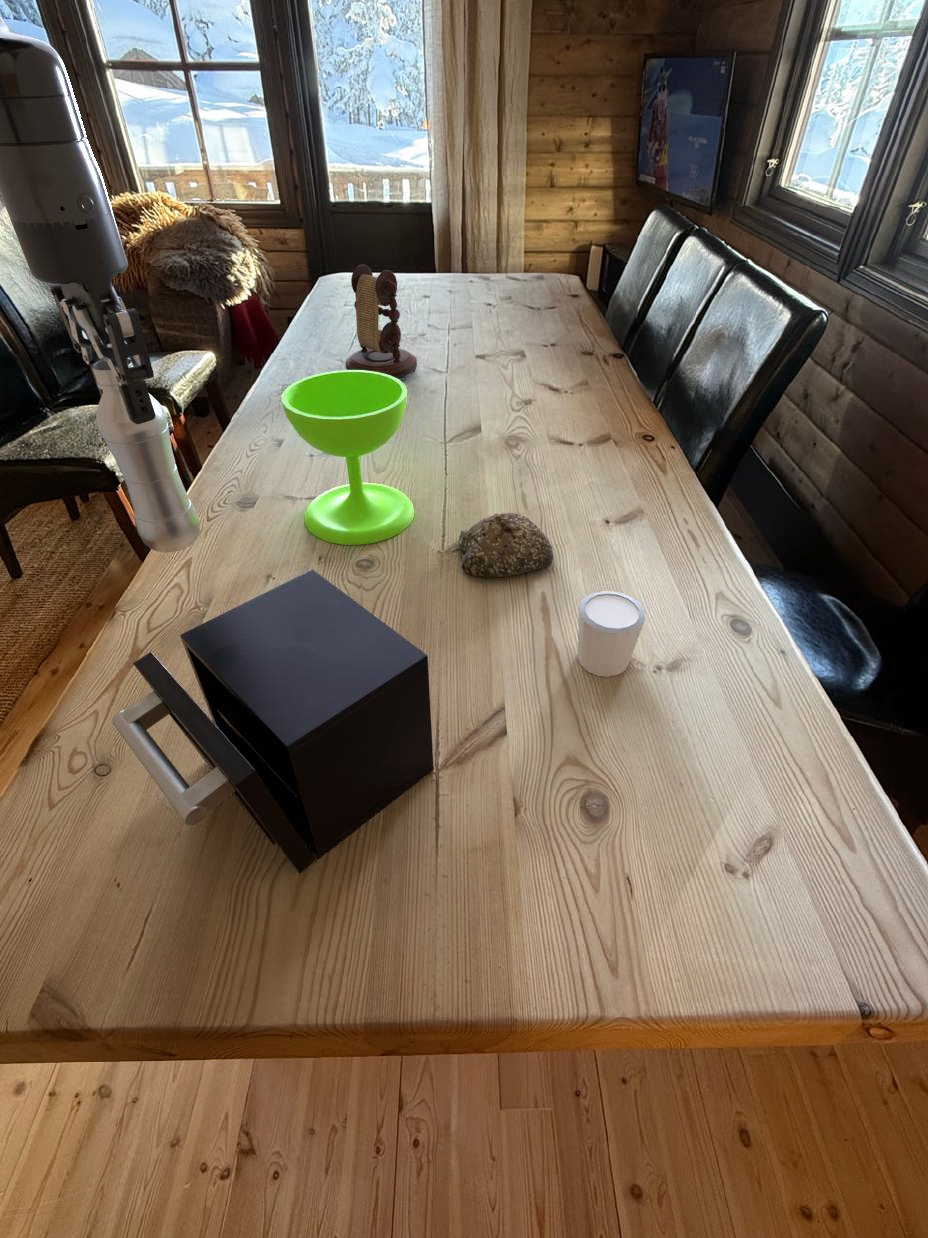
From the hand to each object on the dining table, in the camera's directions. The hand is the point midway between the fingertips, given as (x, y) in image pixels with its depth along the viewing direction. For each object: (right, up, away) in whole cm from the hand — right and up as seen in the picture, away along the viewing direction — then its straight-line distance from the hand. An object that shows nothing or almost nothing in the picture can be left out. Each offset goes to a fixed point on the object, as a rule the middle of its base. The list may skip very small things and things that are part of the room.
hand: (129, 410), depth 64 cm
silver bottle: (0, -12, +10) cm, 16 cm away
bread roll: (+38, -11, +25) cm, 47 cm away
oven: (+19, -34, -1) cm, 39 cm away
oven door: (+13, -38, -6) cm, 41 cm away
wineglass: (+17, -5, +32) cm, 37 cm away
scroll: (+15, +31, +74) cm, 82 cm away
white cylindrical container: (+48, -25, +9) cm, 55 cm away
